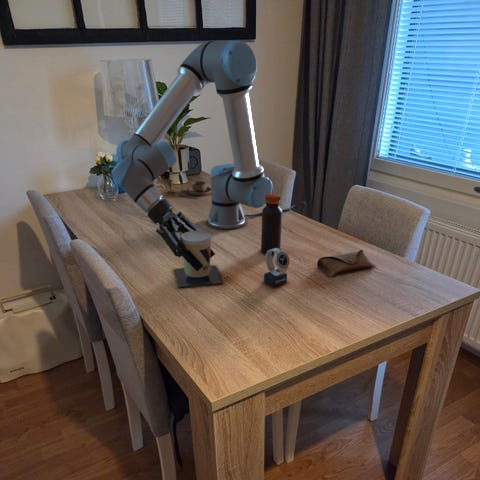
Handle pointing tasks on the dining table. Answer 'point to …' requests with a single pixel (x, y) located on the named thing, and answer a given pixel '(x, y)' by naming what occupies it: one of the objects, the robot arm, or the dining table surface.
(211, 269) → the coaster
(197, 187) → the place setting
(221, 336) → the dining table surface
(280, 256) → the watch
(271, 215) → the bottle
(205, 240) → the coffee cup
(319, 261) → the sunglasses case
